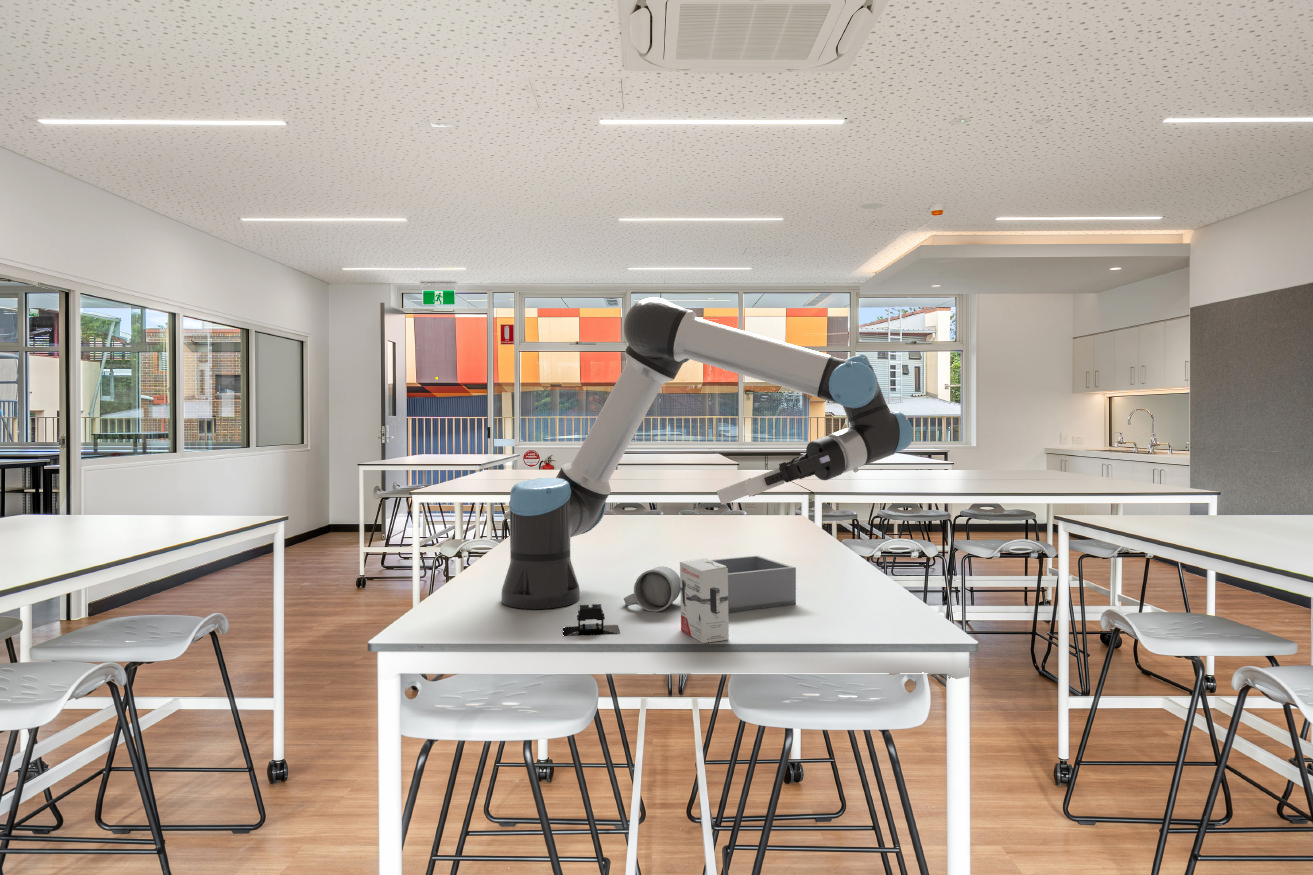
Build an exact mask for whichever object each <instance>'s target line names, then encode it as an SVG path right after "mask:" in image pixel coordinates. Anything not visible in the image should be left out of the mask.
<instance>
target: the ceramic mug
mask: <svg viewBox="0 0 1313 875" xmlns="http://www.w3.org/2000/svg"><path fill="white" fill-rule="evenodd" d="M679 575H680V574H678V573H677V571H676V570H674V569H672V568H671V567H667V566H663V565H662V566H657V567H653V568H651V569H647V570H645V571H644V572H643V573H641V574H640V575H639V576H638V577H636V578H637V579H636V581H635V582H634V586H633V593H630V594H629V595H627V596H625V597H623V601H624V604H625V606H630V605H633V604H635V603H637V604H638V605H639V606H640V607H641V608H642V609H644V610H645V611H647V612H650V611H653V612H652V613H658V612H662V611H664V610H666V609H667V608H668V607H669V606H670V605H672V604H673V603H674V602H675V601H676V599H678V597H679V596H680V595H681V593H680V576H679Z"/></svg>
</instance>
